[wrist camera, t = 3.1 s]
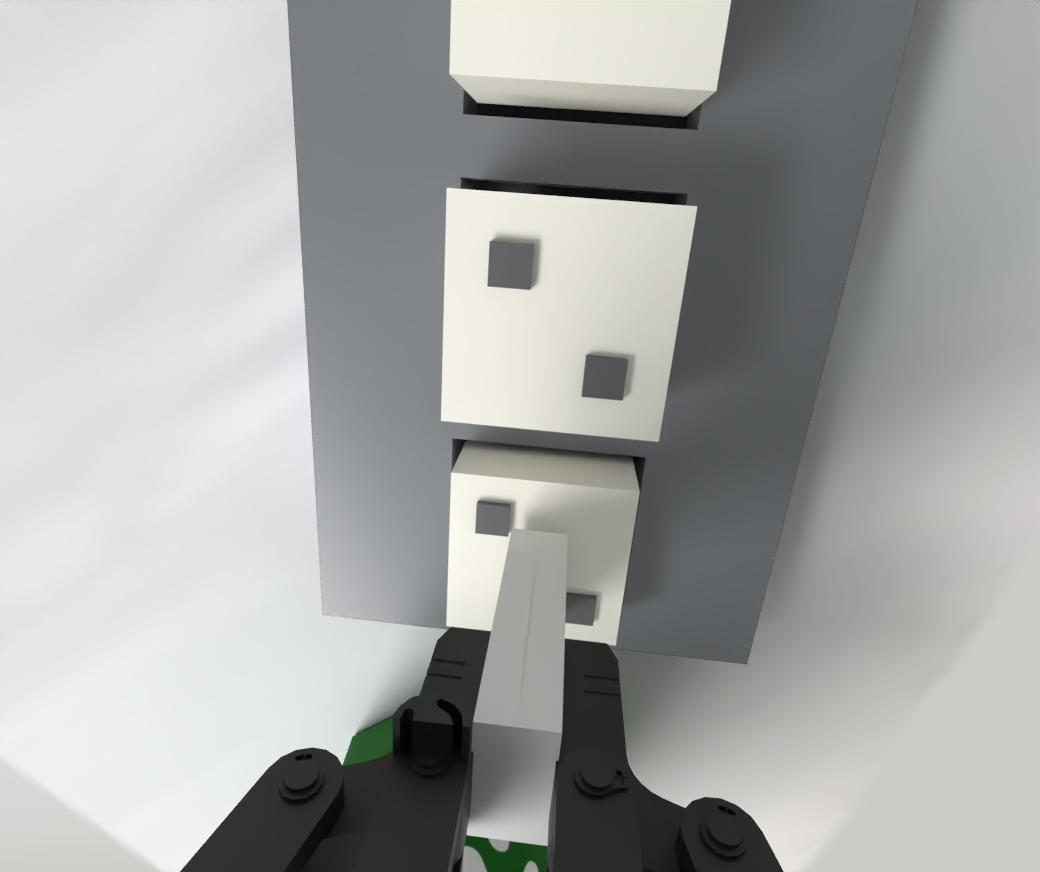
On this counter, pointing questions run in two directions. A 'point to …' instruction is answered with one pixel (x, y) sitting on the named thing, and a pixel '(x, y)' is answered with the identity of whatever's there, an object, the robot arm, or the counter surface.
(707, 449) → the keypad board
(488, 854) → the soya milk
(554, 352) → the key two
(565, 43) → the key one
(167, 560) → the counter surface
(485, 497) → the key three
